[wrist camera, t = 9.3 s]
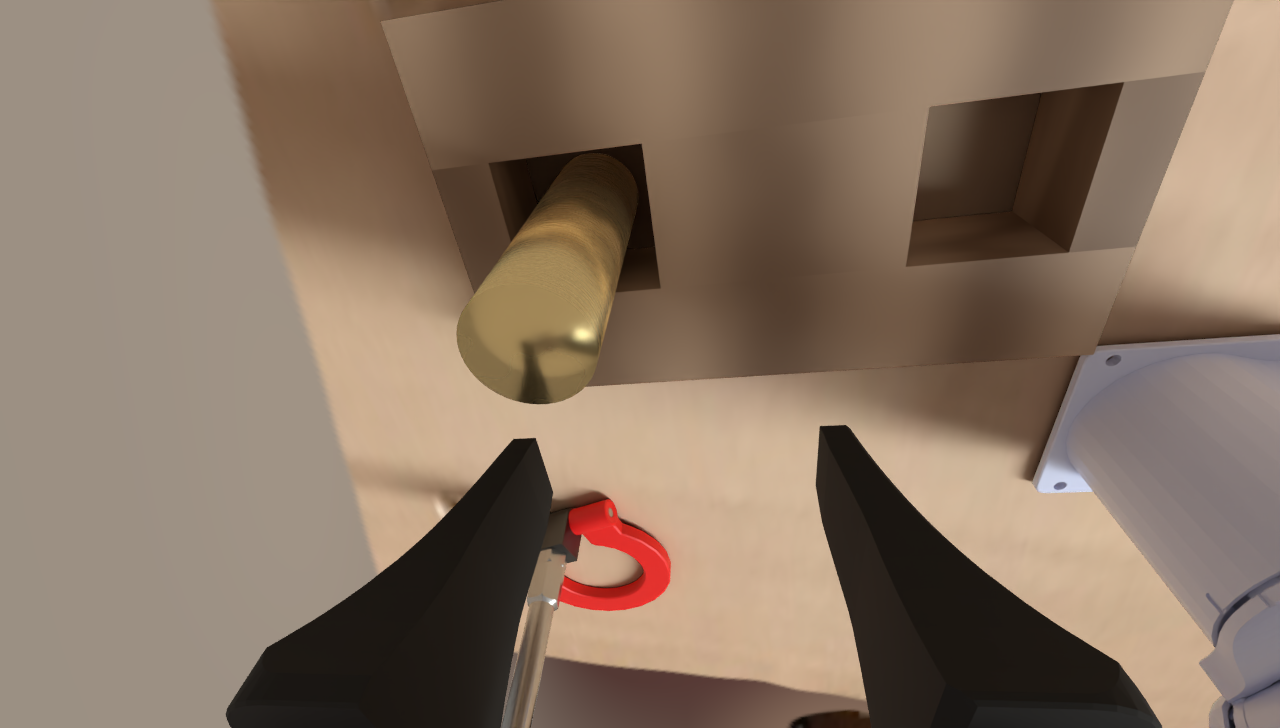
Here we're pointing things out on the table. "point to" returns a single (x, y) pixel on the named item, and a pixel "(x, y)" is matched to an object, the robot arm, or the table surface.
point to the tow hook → (577, 590)
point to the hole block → (816, 165)
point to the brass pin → (553, 287)
